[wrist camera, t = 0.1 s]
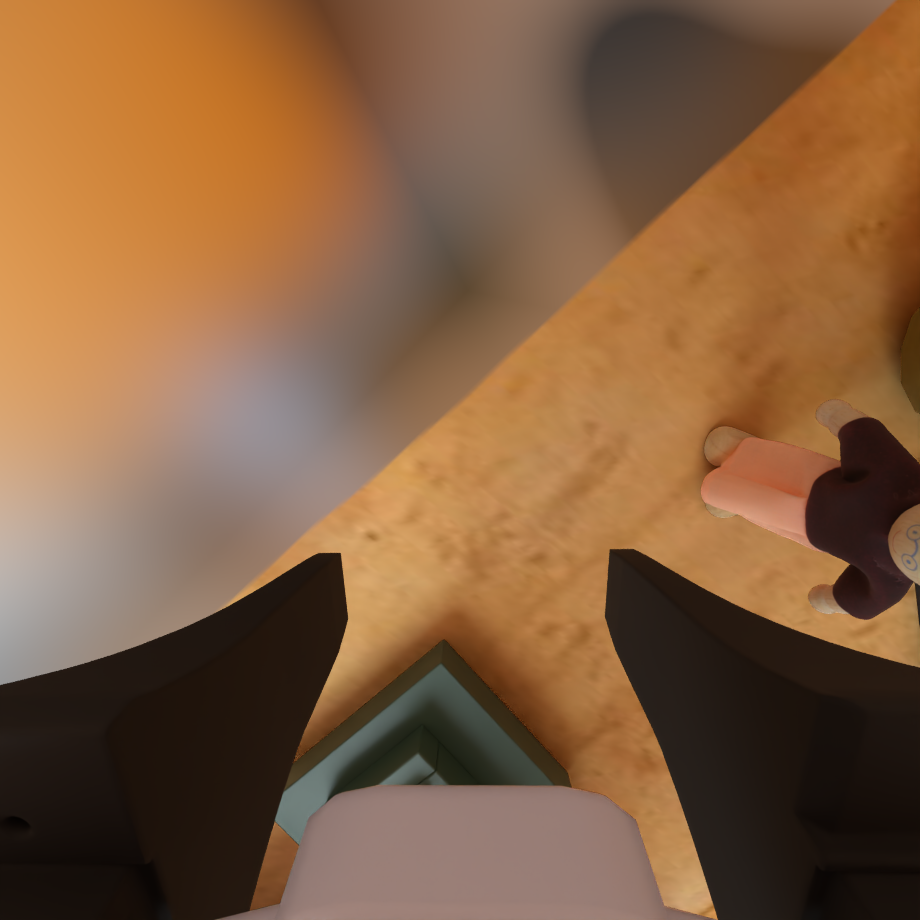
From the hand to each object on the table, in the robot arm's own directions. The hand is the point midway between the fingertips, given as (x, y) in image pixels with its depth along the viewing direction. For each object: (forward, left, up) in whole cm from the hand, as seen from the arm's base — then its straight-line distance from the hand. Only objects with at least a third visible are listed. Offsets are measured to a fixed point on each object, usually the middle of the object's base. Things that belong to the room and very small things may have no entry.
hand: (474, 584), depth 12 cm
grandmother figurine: (+9, -9, -11) cm, 17 cm away
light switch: (-13, -7, -11) cm, 18 cm away
